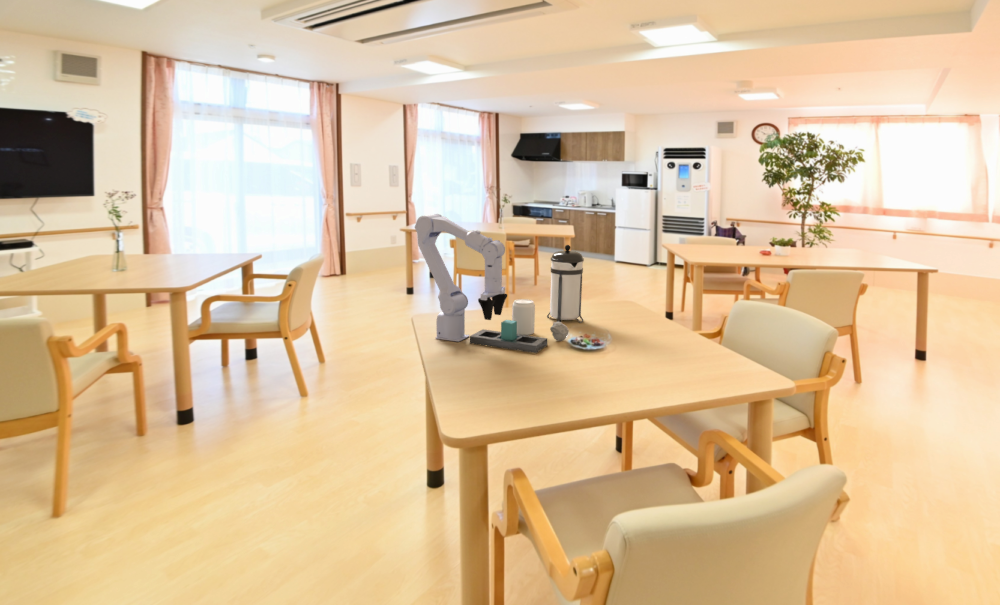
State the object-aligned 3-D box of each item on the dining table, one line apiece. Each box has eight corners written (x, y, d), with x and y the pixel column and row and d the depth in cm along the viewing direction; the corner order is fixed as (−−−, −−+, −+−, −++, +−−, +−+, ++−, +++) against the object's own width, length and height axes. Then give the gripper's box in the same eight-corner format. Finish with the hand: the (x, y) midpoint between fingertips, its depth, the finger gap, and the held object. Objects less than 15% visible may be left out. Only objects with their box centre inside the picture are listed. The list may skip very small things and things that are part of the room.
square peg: (500, 345, 204) (501, 322, 202) (505, 342, 207) (506, 319, 206) (511, 346, 202) (512, 323, 200) (516, 343, 206) (516, 321, 204)
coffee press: (591, 318, 241) (594, 244, 234) (573, 327, 228) (576, 248, 221) (552, 312, 250) (554, 240, 243) (533, 320, 237) (535, 244, 230)
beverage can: (538, 332, 220) (539, 300, 217) (527, 337, 213) (527, 304, 210) (519, 329, 224) (519, 297, 221) (507, 334, 217) (508, 301, 215)
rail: (469, 343, 205) (469, 336, 205) (483, 336, 214) (483, 329, 214) (536, 353, 195) (536, 345, 195) (547, 345, 204) (547, 338, 204)
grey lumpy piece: (545, 341, 209) (546, 321, 208) (559, 337, 214) (559, 318, 212) (559, 344, 205) (560, 325, 203) (572, 340, 210) (573, 321, 208)
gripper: (494, 282, 192) (494, 323, 195) (513, 275, 205) (512, 313, 208) (474, 280, 195) (474, 320, 198) (494, 273, 208) (494, 311, 211)
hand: (492, 317), depth 203 cm, fingers open, 7 cm apart
